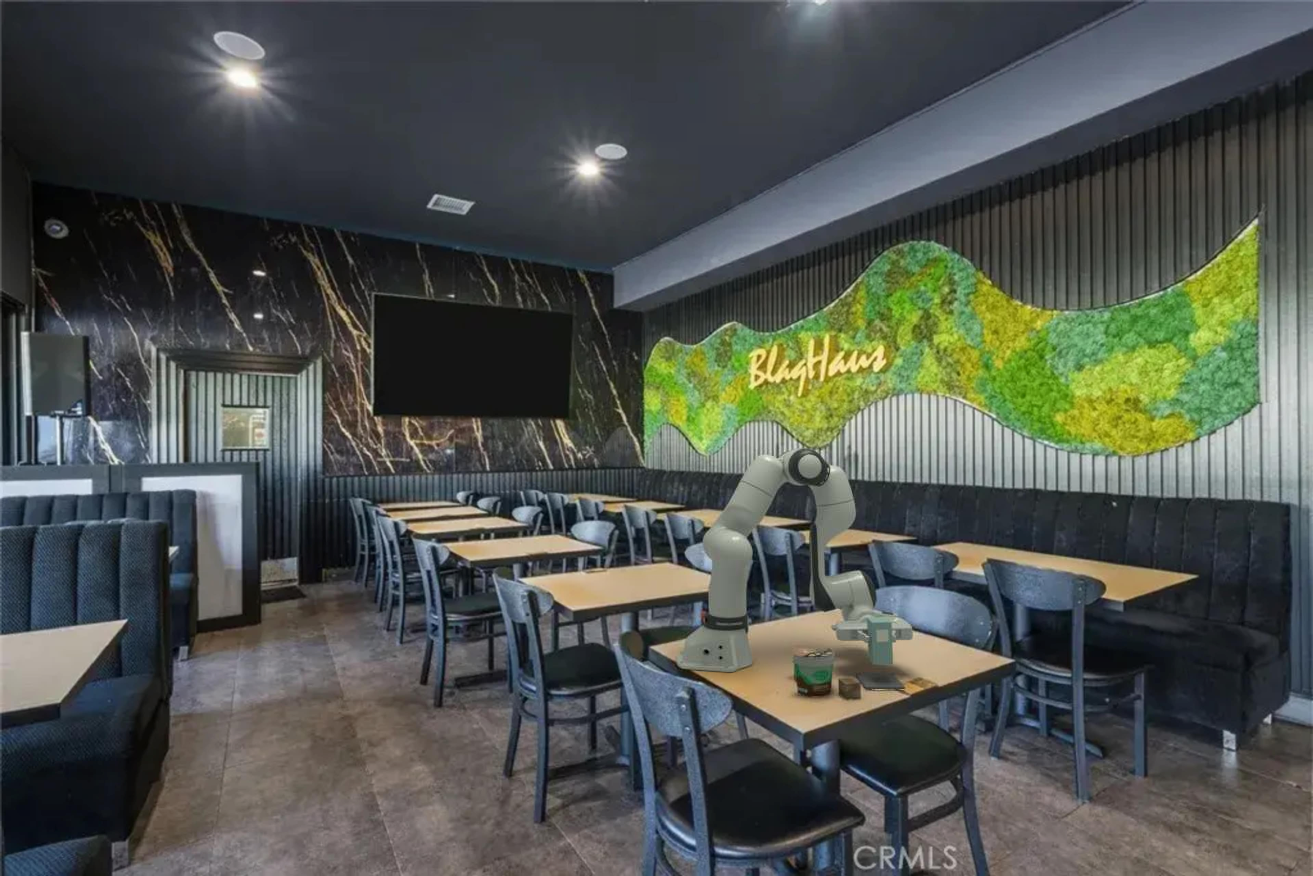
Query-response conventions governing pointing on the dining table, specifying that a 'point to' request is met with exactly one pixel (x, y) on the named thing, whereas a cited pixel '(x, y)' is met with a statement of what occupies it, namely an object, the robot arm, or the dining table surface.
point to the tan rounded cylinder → (802, 653)
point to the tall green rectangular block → (880, 640)
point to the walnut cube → (849, 688)
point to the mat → (879, 681)
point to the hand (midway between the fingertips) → (880, 639)
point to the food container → (814, 673)
